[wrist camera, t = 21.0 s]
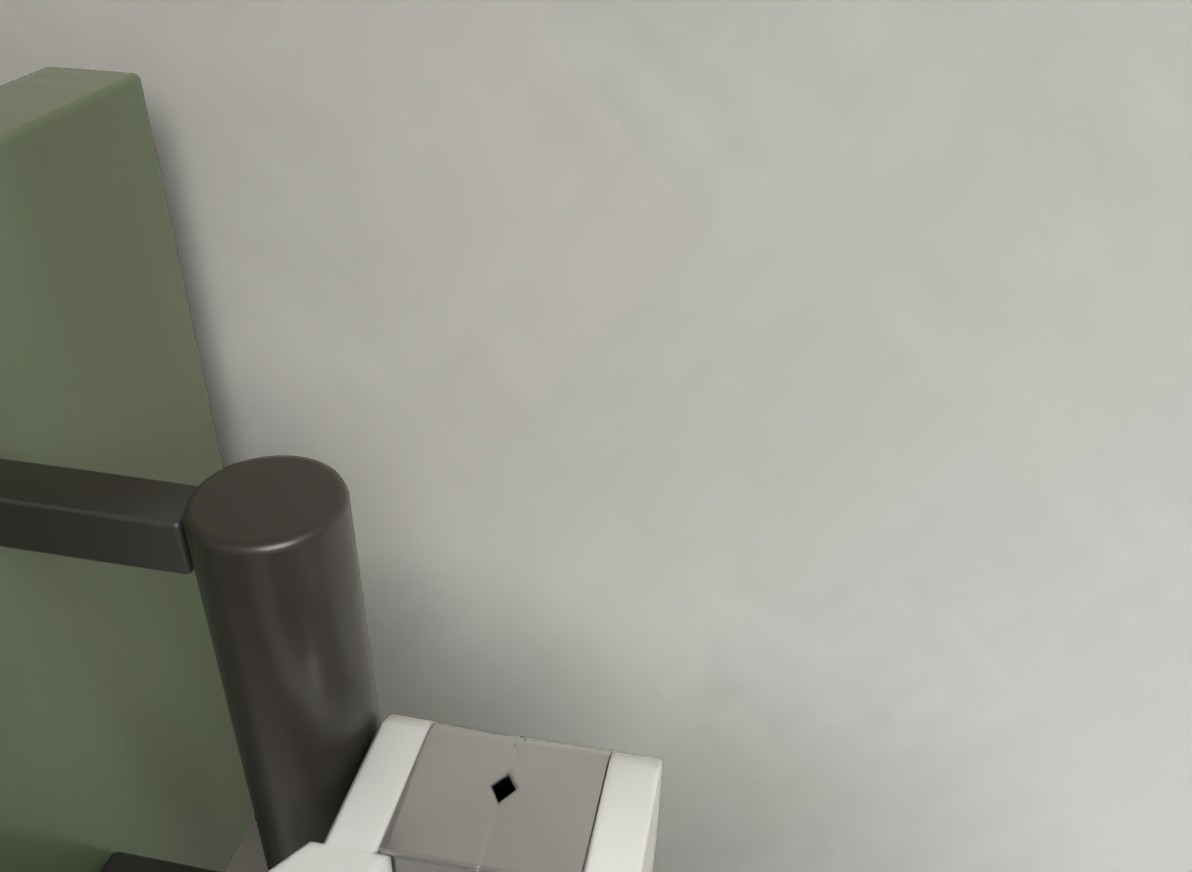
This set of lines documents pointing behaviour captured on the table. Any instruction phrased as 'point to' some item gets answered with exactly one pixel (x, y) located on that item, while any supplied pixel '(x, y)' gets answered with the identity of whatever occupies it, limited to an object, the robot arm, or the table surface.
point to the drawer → (149, 537)
